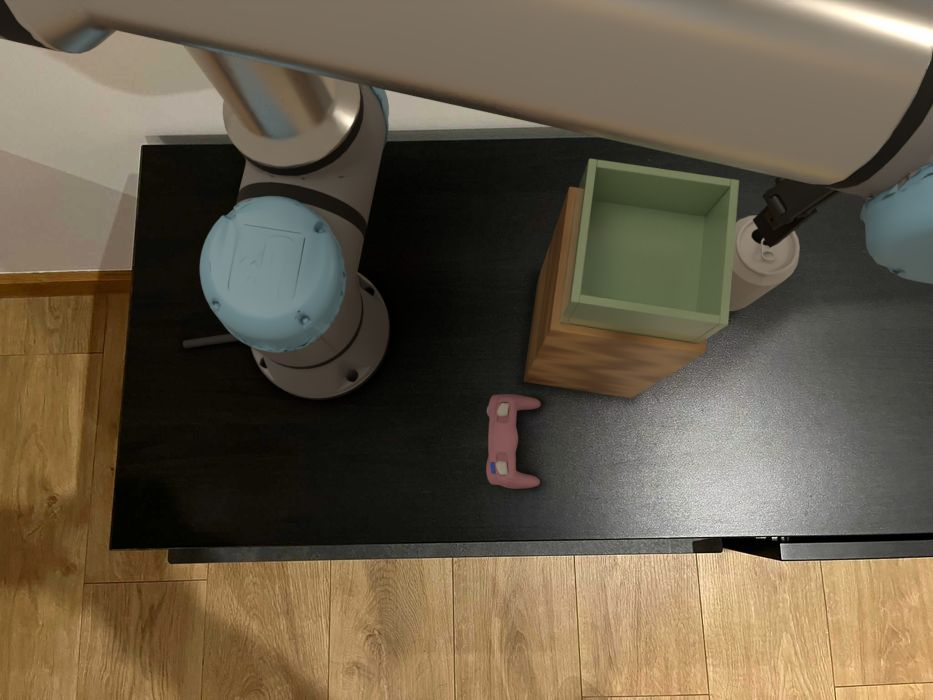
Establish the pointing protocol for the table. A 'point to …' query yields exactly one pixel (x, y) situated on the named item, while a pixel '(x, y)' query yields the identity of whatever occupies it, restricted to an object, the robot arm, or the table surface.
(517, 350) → the table surface
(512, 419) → the video game controller
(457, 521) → the table surface
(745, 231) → the can
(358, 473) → the table surface
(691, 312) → the box
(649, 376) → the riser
